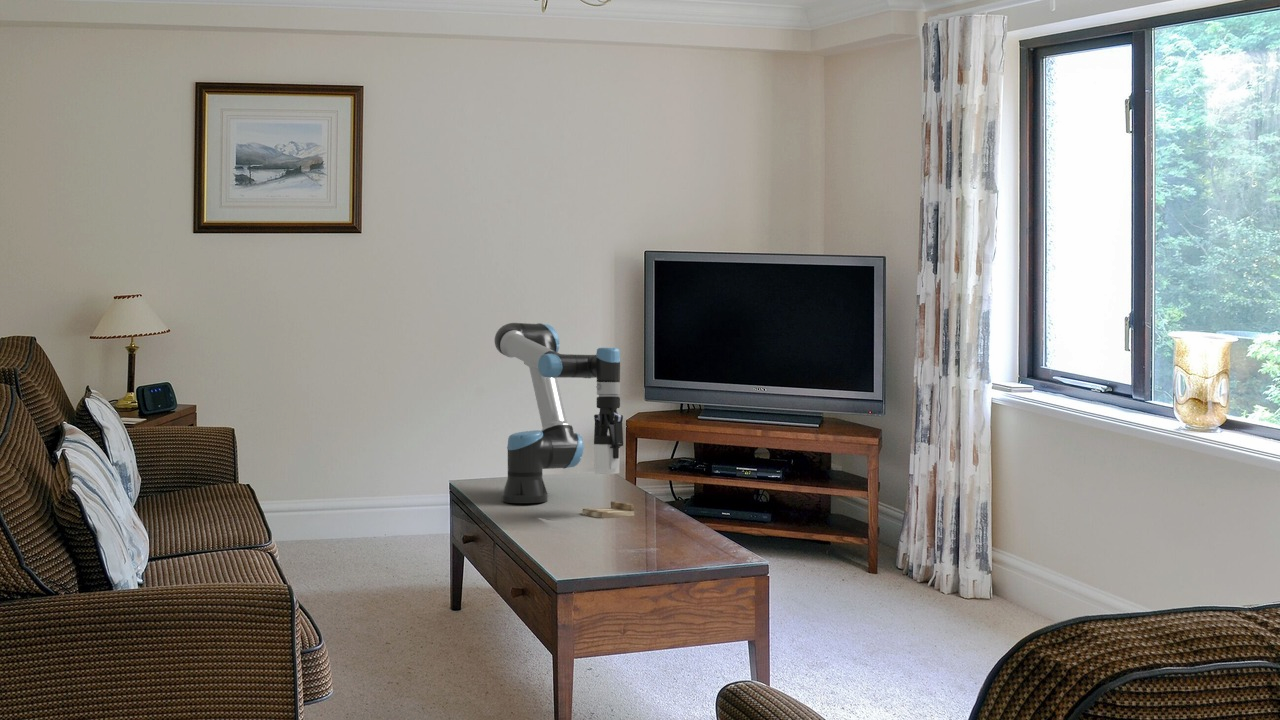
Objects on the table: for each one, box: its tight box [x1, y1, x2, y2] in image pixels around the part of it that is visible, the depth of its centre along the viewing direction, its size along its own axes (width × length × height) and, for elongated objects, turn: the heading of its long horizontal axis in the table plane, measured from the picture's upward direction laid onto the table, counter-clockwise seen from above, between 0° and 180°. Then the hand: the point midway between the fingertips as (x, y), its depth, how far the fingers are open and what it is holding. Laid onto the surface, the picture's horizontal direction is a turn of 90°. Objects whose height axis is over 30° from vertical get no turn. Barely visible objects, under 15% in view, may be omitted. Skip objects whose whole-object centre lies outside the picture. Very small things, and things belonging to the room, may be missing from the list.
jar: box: [593, 434, 620, 475], centre depth 349 cm, size 9×8×12 cm
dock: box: [581, 501, 635, 519], centre depth 348 cm, size 12×12×4 cm
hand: (608, 468), depth 348 cm, fingers closed on jar, 6 cm apart
